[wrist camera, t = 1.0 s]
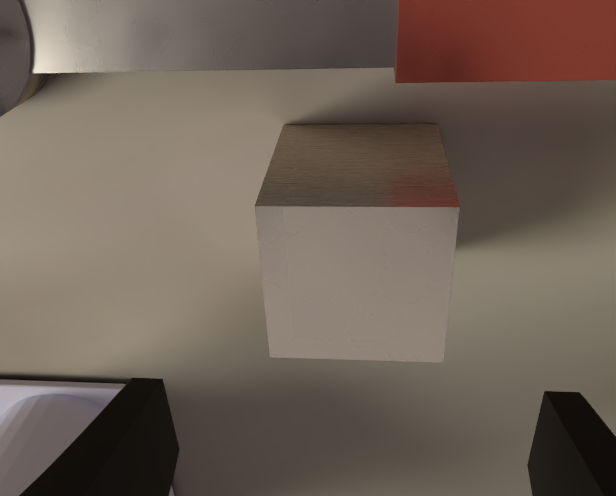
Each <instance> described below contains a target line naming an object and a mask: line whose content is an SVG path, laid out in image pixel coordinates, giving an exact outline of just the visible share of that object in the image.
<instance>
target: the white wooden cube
mask: <svg viewBox="0 0 616 496" xmlns="http://www.w3.org/2000/svg"><path fill="white" fill-rule="evenodd" d="M459 210H460V206H459V203H458V199H457V195H456V192H455V188H454V184H453V181H452V177H451V173H450V170H449V166H448V162H447V158H446V155H445V151H444V147H443V144H442V140H441V136H440V133H439V129H438V125H437V124H341V125H283V127H282V130H281V133H280V136H279V139H278V142H277V144H276V147H275V150H274V153H273V156H272V159H271V161H270V164H269V167H268V170H267V173H266V176H265V178H264V181H263V184H262V187H261V190H260V193H259V195H258V198H257V201H256V204H255V214H256V224H257V234H258V244H259V254H260V264H261V274H262V284H263V294H264V304H265V314H266V324H267V334H268V344H269V354H270V357H276V358H309V359H342V360H375V361H408V362H441V363H443V360H444V351H445V342H446V332H447V323H448V313H449V304H450V295H451V285H452V276H453V266H454V257H455V248H456V238H457V229H458V219H459Z"/></svg>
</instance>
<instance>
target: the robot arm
mask: <svg viewBox="0 0 616 496" xmlns="http://www.w3.org/2000/svg"><path fill="white" fill-rule="evenodd" d="M178 453H179V446H178V442H177V438H176V433H175V429H174V425H173V421H172V417H171V412H170V408H169V404H168V400H167V395H166V391H165V387H164V383H163V379H149V378H132V379H131V380H130V381H129V382H128V383H127V384H114V383H86V382H58V381H30V380H2V379H0V496H174V492H173V488H172V480H173V476H174V472H175V467H176V462H177V458H178ZM528 471H529V477H530V483H531V488H532V494H533V496H616V436H615V435H614V434H613V433H612V431H611V430H610V429H609V428H608V427H607V425H606V424H605V423H604V422H603V420H602V419H601V418H600V417H599V415H598V414H597V413H596V412H595V410H594V409H593V408H592V407H591V405H590V404H589V403H588V402H587V400H586V399H585V398H584V397H583V396H582V395H581V394H580V393H579V392H550V391H544V396H543V400H542V404H541V409H540V413H539V417H538V422H537V426H536V430H535V435H534V439H533V443H532V448H531V452H530V456H529V461H528Z"/></svg>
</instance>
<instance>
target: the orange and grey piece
mask: <svg viewBox="0 0 616 496" xmlns="http://www.w3.org/2000/svg"><path fill="white" fill-rule="evenodd" d="M386 67H394V72H395V81H396V83H423V82H494V81H566V80H616V0H0V117H1V116H2V115H4V114H5V113H7V112H8V111H10V110H11V109H13V108H14V107H16V106H18V105H19V104H21V103H22V102H24V101H25V100H27V99H28V98H30V97H32V96H33V95H34V94H35V93H36V92H37V91H38V90H40V88H41V87H42V86H43V85H44V83H45V82H46V81H47V79H48V77H49V75H50V74H51V73H84V72H144V71H205V70H265V69H326V68H386Z"/></svg>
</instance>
